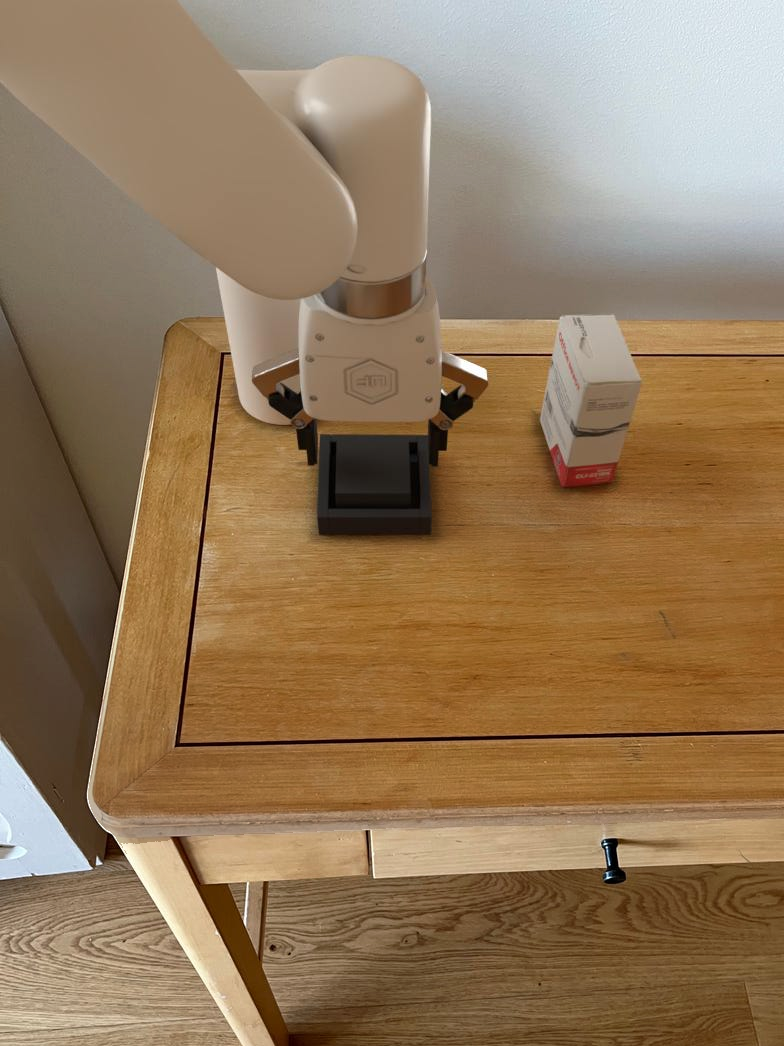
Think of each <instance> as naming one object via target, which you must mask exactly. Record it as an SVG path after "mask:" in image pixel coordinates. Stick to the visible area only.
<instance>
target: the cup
mask: <svg viewBox="0 0 784 1046" xmlns="http://www.w3.org/2000/svg"><path fill="white" fill-rule="evenodd" d="M215 271H216V276H217V282H218V287H219V288H218V289H219V293H220V294H219V295H220V298H221V299H220V300H221V305H222V309H223V310H222V311H223V316H224V321H225V327H226V333H227V338H228V344H229V350H230V355H231V360H232V366H233V371H234V377H235V382H236V383H235V384H236V389H237V394H238V399H239V402H240V404H241V406H242V408H243V409H244V411H246V412H247V414H248V415H250V416H251V417H252V418H254V419H256V420H258V421H261V422H263V423H266V424H271V425H276V426H277V425H278V426H279V425H280V426H289V425H291V423H290V422H291V420H290V419H288V418H287V417H285V416H284V415H282V414H281V413H279V412H278V411H276V410H275V409H273V408H272V407H271V406H270V405H269V402H268V399H267V398H266V397H264V396H263V395H262V394H261V392H260V391H259V390H258V389H257V388H256V387H255V385H254V384H253V383H252V372H253V367H254V366H255V365H257V364H260V363H262V362H265V361H267V360H270V359H272V358H275V357H277V356H280V355H282V354H285V353H287V352H289V351H292V350H294V349H297V348H299V339H298V329H299V310H300V302H301V299H297V300H278V299H273V298H267V297H265V296H262V295H259V294H256V293H254V292H252V291H250V290H248V289H246V288H244V287H243V286H241V285H240V284H238V283H237V282H236V281H234V280H233V279H231V278H230V277H229V276H227V275H226V274H225V273H223V272H222V271H221V270H219V269H218V268H217V267H215ZM280 383H282V384H284V385H285V386H287V387H288V388H290V389H291V390H293V391H294V392H296V391H297V390H298V389H299V388H300V387H301V385H300V374H298V375H295V376H293V377H290V378H287V379H285V380H282V381H280Z"/></svg>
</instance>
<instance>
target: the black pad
mask: <svg viewBox="0 0 784 1046" xmlns="http://www.w3.org/2000/svg"><path fill="white" fill-rule="evenodd" d="M410 497H411V491H410V462H409V440H408V439H337V448H336V506H337V509H410Z"/></svg>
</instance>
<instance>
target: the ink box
mask: <svg viewBox="0 0 784 1046" xmlns="http://www.w3.org/2000/svg"><path fill="white" fill-rule="evenodd" d="M642 384H643V380H642V377H641V375H640V373H639V371H638V369H637V366H636V364H635V361H634V359H633V356H632V354H631V352H630V349H629V347H628V345H627V342H626V340H625V336H624V335H623V332H622V330H621V328H620V325H619V322H618V320H617V318H616V316H615V313H595V314H594V313H587V314H585V313H584V314H565V315H564V314H562V315H561V316H560V317H559V320H558V324H557V331H556V334H555V339H554V346H553V350H552V354H551V361H550V365H549V371H548V375H547V382H546V387H545V391H544V396H543V401H542V406H541V407H542V408H541V412H540V417H539V422H540V425H541V427H542V431H543V434H544V438H545V440H546V443H547V447H548V450H549V452H550V456H551V459H552V463H553V466H554V469H555V472H556V475H557V478H558V481H559V484H560V487H562V488H568V487H580V486H581V487H582V486H590V485H591V486H593V485H601V484H609V483H613V480H614V476H615V473H616V470H617V466H618V464H619V460H620V457H621V453H622V449H623V446H624V443H625V441H626V438H627V433H628V432H629V431H628V430H629V427H630V424H631V420H632V419H633V418H632V417H633V414H634V411H635V408H636V404H637V402H638V398H639V394H640V391H641V388H642Z"/></svg>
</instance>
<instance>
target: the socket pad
mask: <svg viewBox="0 0 784 1046" xmlns="http://www.w3.org/2000/svg"><path fill="white" fill-rule="evenodd" d="M337 439H408V440H409V462H410V491H411V497H410V509H337V506H336V448H337ZM430 471H431V469H430V465H429V455H428V434H361V433H360V434H357V433H356V434H355V433H354V434H352V433H351V434H350V433H349V434H346V433H344V434H343V433H341V434H340V433H337V434H336V433H331V434H330V433H320V434H319V443H318V474H317V475H318V478H317V479H318V480H317V506H316V507H317V508H316V519H317V531H318V535H319V536H349V535H350V536H401V535H402V536H407V535H409V536H410V535H413V536H422V535H423V536H425V535H427V536H428V535H429V536H430V535H432V521H433V510H432V493H431V472H430Z"/></svg>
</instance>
